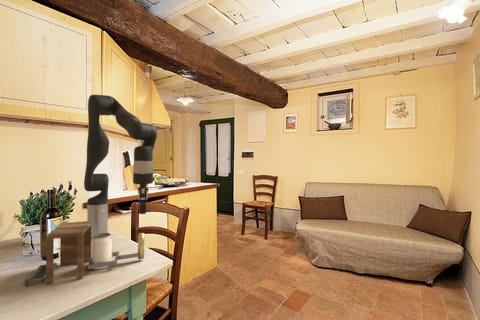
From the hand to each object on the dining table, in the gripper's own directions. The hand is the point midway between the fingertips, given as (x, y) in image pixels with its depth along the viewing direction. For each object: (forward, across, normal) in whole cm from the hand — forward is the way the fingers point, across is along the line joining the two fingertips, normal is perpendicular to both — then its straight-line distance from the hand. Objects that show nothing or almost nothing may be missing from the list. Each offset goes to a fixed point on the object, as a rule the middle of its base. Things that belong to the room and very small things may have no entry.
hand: (142, 211), depth 93 cm
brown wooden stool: (+20, 0, -24) cm, 31 cm away
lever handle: (+19, 0, -9) cm, 21 cm away
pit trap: (+20, 0, -33) cm, 38 cm away
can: (+20, 0, -14) cm, 25 cm away
